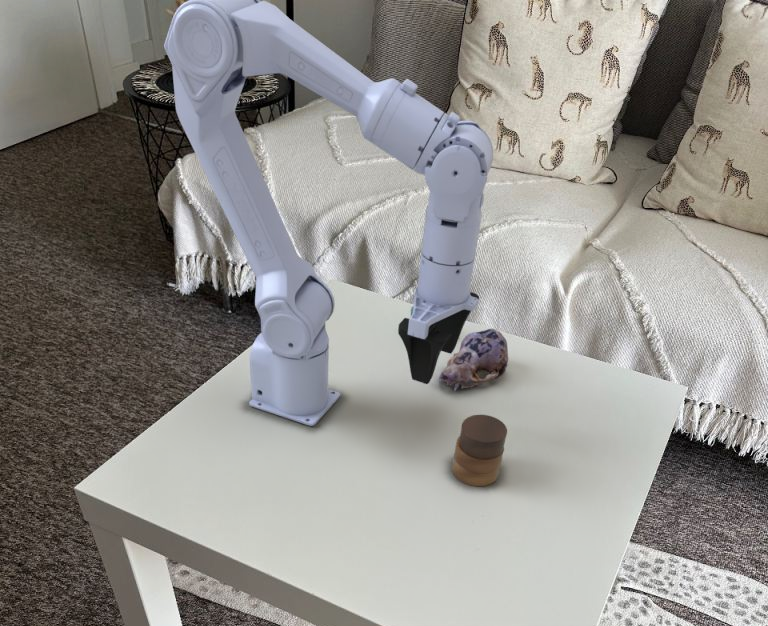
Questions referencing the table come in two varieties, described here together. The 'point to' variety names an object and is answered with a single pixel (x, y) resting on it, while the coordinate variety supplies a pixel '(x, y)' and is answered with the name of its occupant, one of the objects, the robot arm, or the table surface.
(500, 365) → the skull
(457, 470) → the bottom chip
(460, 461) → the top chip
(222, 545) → the table surface
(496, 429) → the walnut chip
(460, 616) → the table surface
